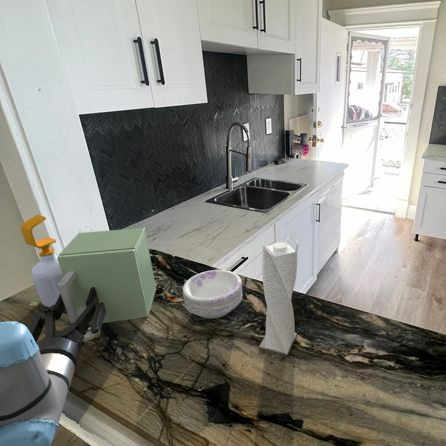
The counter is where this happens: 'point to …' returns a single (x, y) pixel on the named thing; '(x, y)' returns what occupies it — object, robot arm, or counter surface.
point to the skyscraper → (279, 295)
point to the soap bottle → (44, 264)
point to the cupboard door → (103, 284)
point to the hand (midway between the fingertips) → (79, 294)
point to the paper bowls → (212, 293)
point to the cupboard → (119, 241)
